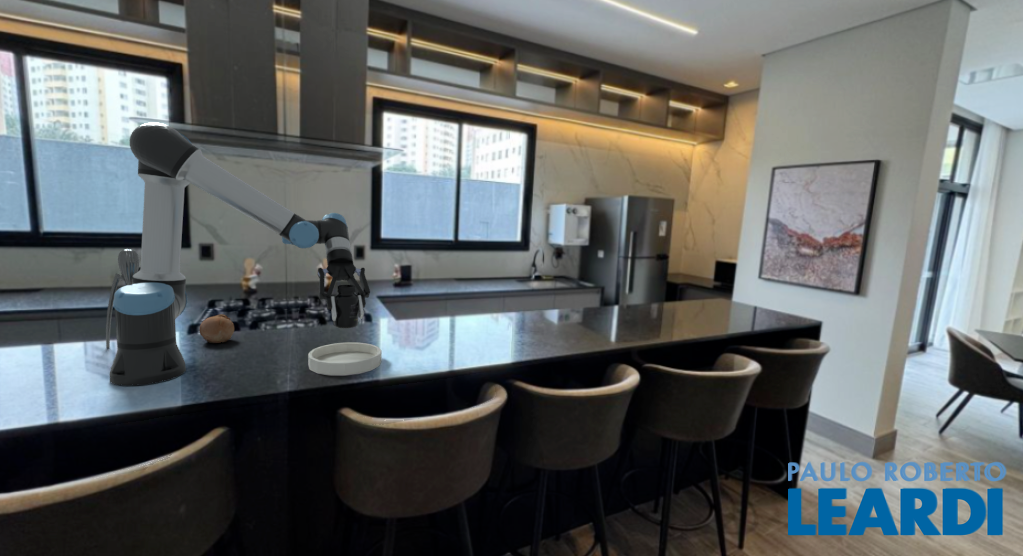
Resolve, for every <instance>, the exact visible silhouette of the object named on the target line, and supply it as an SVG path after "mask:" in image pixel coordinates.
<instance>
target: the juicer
mask: <svg viewBox="0 0 1023 556" xmlns="http://www.w3.org/2000/svg"><path fill="white" fill-rule="evenodd" d="M117 263H118V269H119V271H120V273H119V274H118V273H115V274H114V278H113V281H112V284H111V287H110V288H111V289H110V292H109V297H108V303H107V304H108V305H107V312H106V325H105V347H106V349H108V348H111V347H110V345H111V344H110V342H111V340H110V339H111V324H112V314H113V308H114V304H113V301H114V295H115V292H116V291H117V290H118V285H119V282H121V281H122V282H124V283H125V286H127V285H132V283H133V275H134V274H136V273H137V272H139V270H140V256H139V254H138V252H137V251H136V250H134V249H130V248H129V249H128V248H126V249H122V250H121V251H119V253H118V256H117Z"/></svg>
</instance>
